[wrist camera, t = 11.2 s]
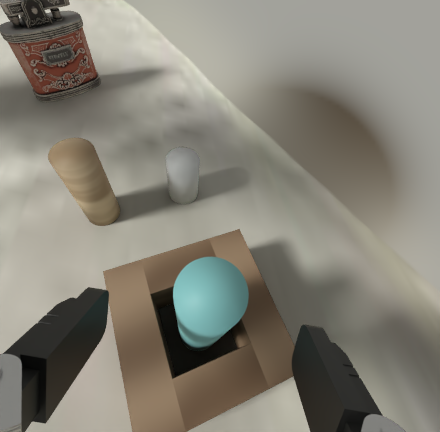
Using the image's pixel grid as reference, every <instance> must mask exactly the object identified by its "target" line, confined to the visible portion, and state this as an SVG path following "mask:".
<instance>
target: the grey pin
mask: <svg viewBox="0 0 440 432" xmlns="http://www.w3.org/2000/svg"><path fill="white" fill-rule="evenodd" d="M199 167H200V158H199V155H198V154H197V153H196V152H195V151H194V150H192V149H190V148H187V147H178V148H175V149H172V150H171V151H170V152H169V153H168V154H167V156H166V168H167V177H168V187H169V195H170V197H171V199H172V200H173V201H174V202H176V203H179V204H189V203H191V202H193V201H194V200H195V199H196V198H197V195H198V183H199Z"/></svg>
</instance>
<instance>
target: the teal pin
mask: <svg viewBox="0 0 440 432" xmlns="http://www.w3.org/2000/svg"><path fill="white" fill-rule="evenodd" d="M248 296H249V293H248V287H247V283H246V280H245V278H244V276H243V275H242V273H241V272H240V271H239V269H238V268H237V267H236V266H235V265H233V264H232V263H230V262H229V261H227V260H225V259H222V258H218V257H203V258H199V259H196V260H194V261H192V262H191V263H189V264H188V265H186V266H185V267H184V268H183V270H182V271H181V272H180V273H179V275H178V277H177V279H176V281H175V284H174V289H173V300H174V306H175V311H176V317H177V322H178V328H179V333H180V338H181V340H182V342H183V344H184V345H185V346H186V347H187V348H188V349H190V350H193V351H203V350H205V349H207V348H209V347H210V346H211V345H212V344H213V343H215V342H216V341H217V340H218V339H219V338H220V337H222V336H223V335H224V334H225V333H226V332H227V331H229V330H230V329H231V328H232V327H233V326H234V325H235V324H236V323H238V322H239V320H240V319H241V318H242V316H243V315H244V313H245V311H246V308H247V304H248Z"/></svg>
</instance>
